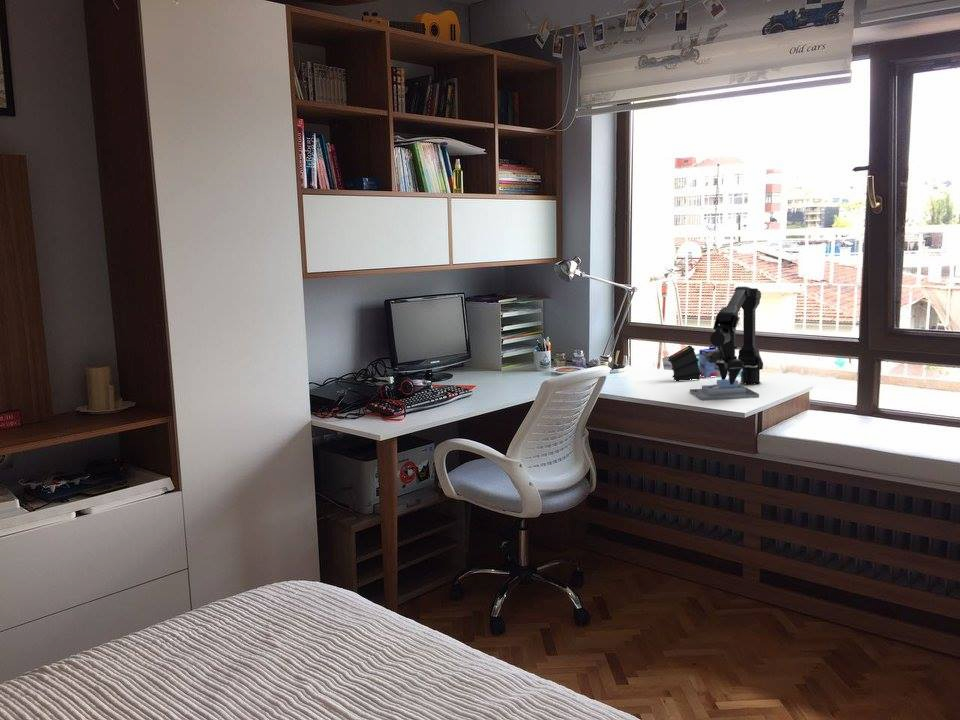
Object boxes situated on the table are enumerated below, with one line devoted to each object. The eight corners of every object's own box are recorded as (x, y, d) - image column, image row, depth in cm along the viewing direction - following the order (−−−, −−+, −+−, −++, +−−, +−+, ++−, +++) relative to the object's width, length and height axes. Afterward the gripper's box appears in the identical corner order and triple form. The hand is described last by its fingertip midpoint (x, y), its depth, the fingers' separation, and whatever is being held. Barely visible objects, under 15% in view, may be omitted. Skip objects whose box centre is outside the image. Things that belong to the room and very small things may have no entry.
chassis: (743, 389, 327) (743, 381, 326) (759, 397, 311) (759, 388, 310) (689, 392, 326) (689, 384, 325) (702, 400, 310) (702, 392, 310)
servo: (734, 390, 320) (734, 376, 320) (737, 391, 316) (737, 378, 316) (711, 391, 320) (711, 378, 319) (715, 393, 316) (715, 379, 315)
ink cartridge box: (706, 378, 354) (705, 345, 352) (698, 376, 359) (698, 344, 357) (724, 376, 357) (724, 343, 355) (716, 374, 363) (716, 342, 360)
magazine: (707, 375, 351) (692, 345, 348) (681, 390, 350) (666, 360, 347) (703, 374, 355) (689, 344, 352) (677, 389, 354) (663, 359, 351)
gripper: (699, 341, 324) (699, 379, 327) (714, 347, 306) (715, 388, 308) (726, 339, 325) (726, 378, 327) (744, 345, 306) (743, 386, 309)
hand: (727, 382), depth 318 cm, fingers open, 9 cm apart
